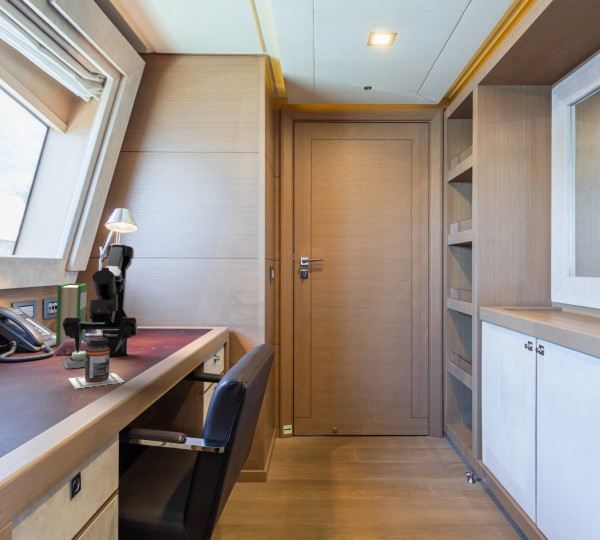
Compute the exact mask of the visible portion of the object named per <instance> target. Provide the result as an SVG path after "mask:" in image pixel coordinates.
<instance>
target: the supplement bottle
mask: <svg viewBox="0 0 600 540" xmlns="http://www.w3.org/2000/svg"><path fill="white" fill-rule="evenodd" d="M85 351H86V359H85V360H86V361H85V367H84V368H85V369H84V377H85V380H86V381H88V382H101V381H105V380H107V379H108V378H109V374H110V358H111V357H110V348H109V347H108V346H107V345H106V338H103V337H93V338H90V340H89V345H88V346H87V348H86V350H85Z"/></svg>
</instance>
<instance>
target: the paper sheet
mask: <svg viewBox="0 0 600 540" xmlns="http://www.w3.org/2000/svg"><path fill="white" fill-rule="evenodd" d="M68 381H69V383H70V382H71V383H70V384H71V385H72V387H73V386H74V387H73V388H74V390H79V389H78V388H82V389H86V388H85V387H90V388H93V387H92V386H97V387H100V386H99V385H105V386H108V385H107V384H113V385H116V384H115V383H120V384H122V383H121V382H125V383H126V381H124V379H122V378H121V377H120V376H119V375H117V374H116V373H115V372H113V373H112V372H111V373H109V378H108V379H107V380H105V381H101V382H88V381H86V380H85V376H78V377H69V378H68Z"/></svg>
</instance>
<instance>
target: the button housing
mask: <svg viewBox="0 0 600 540" xmlns="http://www.w3.org/2000/svg"><path fill="white" fill-rule="evenodd" d="M85 361H86V360H84V361H74V362H73V361H72V356H67V357H62V364H63V366H64V368H65V369H66V368H67V369H66V370H70V369H71V370H72V368H73V369H79V368H80V369H81V367H83V368H85Z"/></svg>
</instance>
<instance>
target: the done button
mask: <svg viewBox="0 0 600 540" xmlns="http://www.w3.org/2000/svg"><path fill="white" fill-rule="evenodd" d="M71 357H72V361H73V362H74V361H84V360H85V359H86V350H85V351H79V353H77V352H73V353H72V354H71Z"/></svg>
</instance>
